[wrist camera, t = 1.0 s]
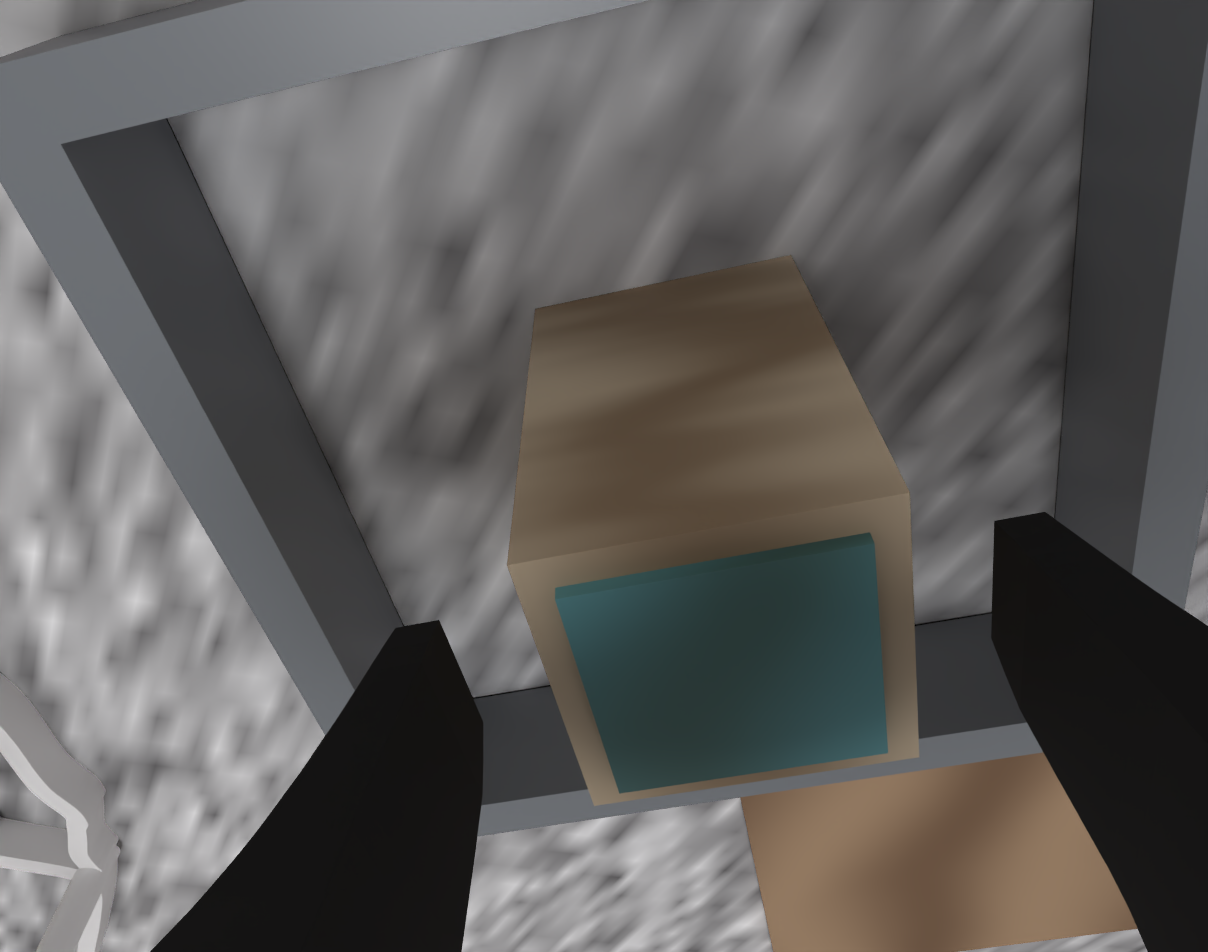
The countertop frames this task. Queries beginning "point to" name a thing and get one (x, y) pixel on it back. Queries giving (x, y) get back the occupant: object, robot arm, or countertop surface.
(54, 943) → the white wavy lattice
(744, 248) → the countertop surface
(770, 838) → the pad
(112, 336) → the bin
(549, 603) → the label box
